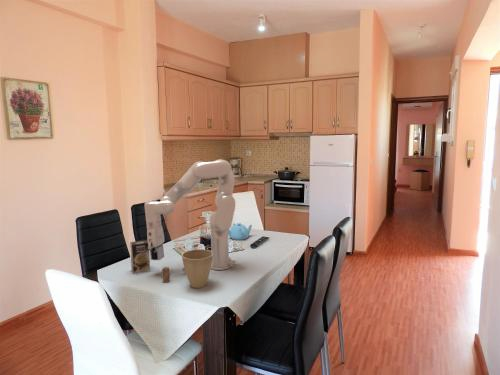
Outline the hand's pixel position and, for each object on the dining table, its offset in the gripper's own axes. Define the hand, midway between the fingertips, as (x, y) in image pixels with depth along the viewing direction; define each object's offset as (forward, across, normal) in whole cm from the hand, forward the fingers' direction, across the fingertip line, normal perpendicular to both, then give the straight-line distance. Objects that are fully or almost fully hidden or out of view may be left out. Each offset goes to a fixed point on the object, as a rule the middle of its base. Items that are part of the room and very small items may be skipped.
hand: (157, 256), depth 193 cm
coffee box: (+9, +2, +12) cm, 15 cm away
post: (+10, -9, -9) cm, 16 cm away
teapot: (+12, +75, -23) cm, 79 cm away
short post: (+10, +2, -15) cm, 18 cm away
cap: (+1, 0, 0) cm, 1 cm away
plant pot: (+10, -10, -27) cm, 30 cm away
